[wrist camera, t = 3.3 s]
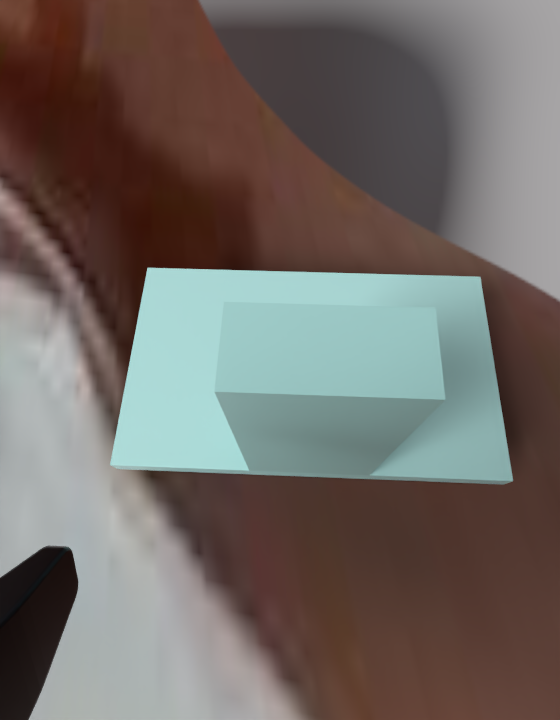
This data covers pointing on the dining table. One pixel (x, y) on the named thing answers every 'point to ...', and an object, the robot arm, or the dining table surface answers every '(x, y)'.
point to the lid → (313, 377)
